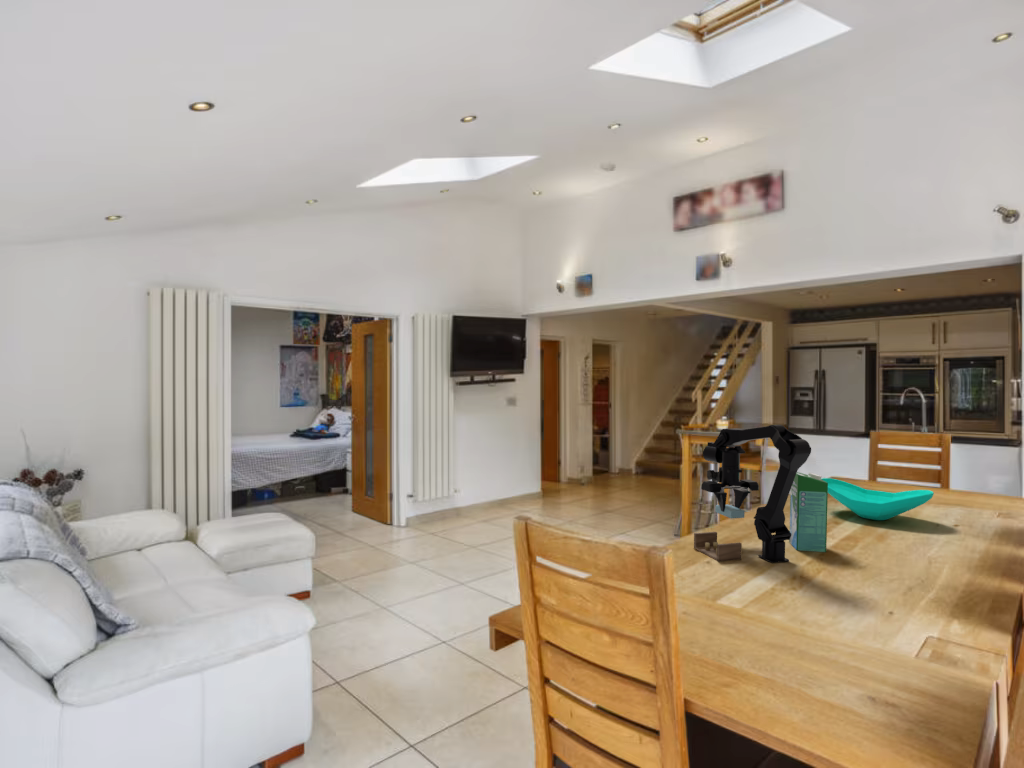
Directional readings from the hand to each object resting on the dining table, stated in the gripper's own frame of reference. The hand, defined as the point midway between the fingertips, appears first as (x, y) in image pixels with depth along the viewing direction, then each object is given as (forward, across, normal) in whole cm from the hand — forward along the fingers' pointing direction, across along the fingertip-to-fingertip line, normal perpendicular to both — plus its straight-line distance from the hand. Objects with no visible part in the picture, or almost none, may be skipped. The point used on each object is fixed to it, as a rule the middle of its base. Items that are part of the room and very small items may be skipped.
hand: (729, 511), depth 197 cm
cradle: (+11, +11, +9) cm, 18 cm away
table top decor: (+11, -78, -18) cm, 81 cm away
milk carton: (+11, -23, +9) cm, 27 cm away
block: (+1, 0, 0) cm, 1 cm away
